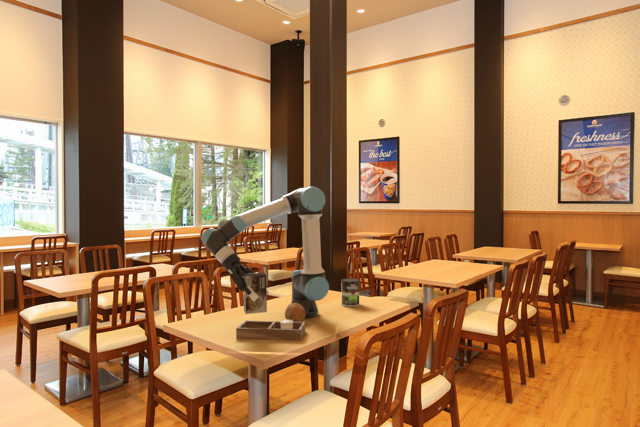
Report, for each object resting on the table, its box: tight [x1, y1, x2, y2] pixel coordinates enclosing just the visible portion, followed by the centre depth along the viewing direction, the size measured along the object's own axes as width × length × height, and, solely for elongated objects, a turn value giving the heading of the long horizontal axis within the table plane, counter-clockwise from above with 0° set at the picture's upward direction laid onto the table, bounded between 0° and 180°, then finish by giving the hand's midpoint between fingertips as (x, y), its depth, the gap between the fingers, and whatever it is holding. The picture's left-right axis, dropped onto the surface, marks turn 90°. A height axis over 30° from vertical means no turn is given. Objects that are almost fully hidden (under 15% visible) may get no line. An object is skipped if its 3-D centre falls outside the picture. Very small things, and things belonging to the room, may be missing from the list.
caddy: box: [235, 320, 306, 342], centre depth 173 cm, size 12×27×5 cm, turn 83°
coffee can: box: [340, 278, 360, 308], centre depth 231 cm, size 10×10×14 cm
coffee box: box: [243, 272, 268, 315], centre depth 174 cm, size 9×6×16 cm
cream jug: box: [280, 319, 293, 329], centre depth 173 cm, size 6×6×6 cm
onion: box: [284, 303, 306, 322], centre depth 193 cm, size 10×10×10 cm
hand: (261, 296), depth 173 cm, fingers closed on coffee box, 10 cm apart
